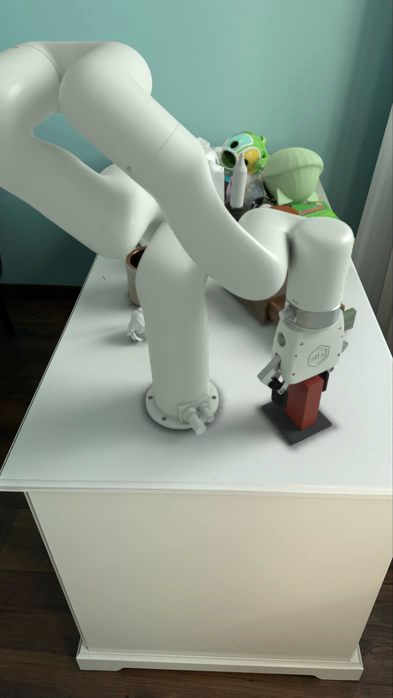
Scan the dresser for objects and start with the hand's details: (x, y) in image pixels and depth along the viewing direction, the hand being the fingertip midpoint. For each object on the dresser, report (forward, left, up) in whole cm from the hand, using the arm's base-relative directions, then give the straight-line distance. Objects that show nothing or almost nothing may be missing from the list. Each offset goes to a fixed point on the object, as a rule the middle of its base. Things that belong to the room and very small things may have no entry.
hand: (298, 394), depth 82 cm
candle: (+49, -17, -5) cm, 52 cm away
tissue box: (+69, -26, +5) cm, 73 cm away
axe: (+101, -18, -5) cm, 103 cm away
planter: (+44, +6, -6) cm, 45 cm away
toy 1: (+70, -46, +7) cm, 84 cm away
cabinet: (+30, -17, -5) cm, 35 cm away
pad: (0, 0, -5) cm, 5 cm away
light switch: (+97, -41, -4) cm, 106 cm away
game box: (+39, -41, -5) cm, 56 cm away
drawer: (+19, -17, -5) cm, 25 cm away
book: (0, 0, -5) cm, 5 cm away
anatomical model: (+71, -38, -1) cm, 80 cm away
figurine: (+31, +10, -6) cm, 33 cm away
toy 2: (+63, -34, -4) cm, 72 cm away
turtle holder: (+88, -51, +1) cm, 102 cm away
